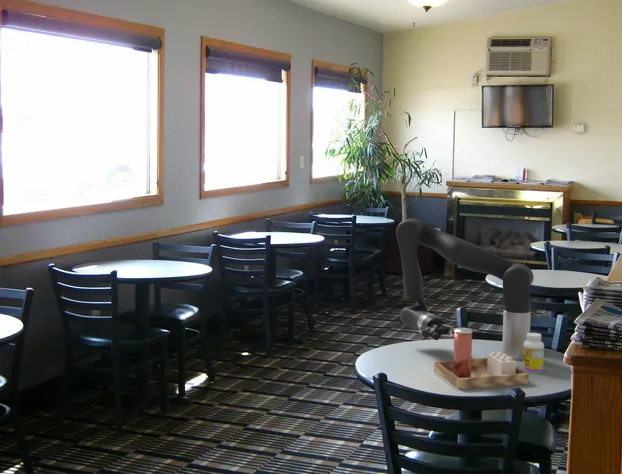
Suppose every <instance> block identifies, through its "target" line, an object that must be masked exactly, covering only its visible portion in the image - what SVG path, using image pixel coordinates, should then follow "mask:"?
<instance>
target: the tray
mask: <svg viewBox="0 0 622 474" xmlns="http://www.w3.org/2000/svg"><path fill="white" fill-rule="evenodd" d="M487 360H488V357H482V358H481V357H480V358H472V359H471V378H458V377H457V376H456V375H454V374H453V368H454V359H453V360H441V361H433V372H434V373H433V374H434V375H436V376H437V377H438V378H439V379H441V380H442V381H443V382H444V383H446V384H447V385H448V386H450V388H452V389H453V390H455V391H456V392H459V391H458V390H468V389H469V390H470V389H471V390H472V389H480V388H493V387H494V388H495V387H505V386H520V385H528V383H529V373H528V372H527V371H524V370H523V369H522V368H521V369H520V368H519V367H517V366H516V374H510V375H497V376H493V375H491V374H490V373H488V372H487Z"/></svg>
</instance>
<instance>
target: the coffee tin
mask: <svg viewBox="0 0 622 474" xmlns="http://www.w3.org/2000/svg"><path fill="white" fill-rule="evenodd" d="M473 332H474V331H473V329H472V328H469V327H462V328H455V329H454V336H453V338H454V339H453V360H454V368H453V374H454V375H456V376H457V377H458V378H471V359H473V358H472V355H473V352H472V350H473V349H472V348H473Z"/></svg>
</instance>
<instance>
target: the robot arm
mask: <svg viewBox="0 0 622 474" xmlns="http://www.w3.org/2000/svg"><path fill="white" fill-rule="evenodd" d="M395 234H396V239H397V243H398V249H399V255H400V260H401V267H402V278H403V279H402V280H403V294H404V295H403V296H404V299H405V300H407V301H411V302H416V303H417V304H416V305H410V306H405V307H403V308H402V309H401V311H400V315H399V316H400V317H399V318H400V320H401V322H402V324H403V325H404V326H406V327H408V328H411V329H412V328H413V329H418V330H419V335H420V336H421V337H422V338H424V339H427V338H429V339H433V340H434V341H439V339H440V338H441V337H451V338H452V337H454V329H455V328H463V327H461V326H459V325H458V324H453V325H448V324H446V322H445V321H444V319H442V318H440V317H439V316H437V315H435V314H433V313H430V311H429V309H428V306H427V303H426V299H425V295H424V286H423V285H424V283H423V275H422V271H421V267H420V264H419V260H418V245H421V246H424V247H427V248H430V249H432V250H433V251H435V252H437V253H438V254H439V255H440V256H442V257H443V258H444V259H446V260H447V261H448V262H450V263H452V264H453V265H456V266H459V267H460V268H464V269H465V270H469V271H472V272H477V273H482V274H487V275H491V276H493V277H494V278H498V279H499V280H501V281H502V304H503V315H502V316H503V317H502V324H503V325H502V347H501V348H502V349H501V351H502V352H503V354H507V355H508V356H510V357H512V360H514V361H515V360H516V361H519V360H520V361H523V344H524V342H525V341H527V333H532V332H531V313H532V312H531V311H532V310H531V309H532V305H531V301H530V295H531V294H530V292H531V287H530V286H531V285H532V284H533V282H534V273H533V271H532V270H531V268H530V267H529V266H528V265H526V264H523V263H520V262H516V261H513V260H510V259H507V258H504V257H501V256H499V255H497V254H495V253H493V252H491V251H489V250H487V249H485V248H482V247H480V246H478V245H476V244H475V243H472V242H470V241H468V240H464V239H463V238H460V237H457V236H454V235H452V234H449V233H446V232H444V231H441V230H439V229H436V228H435V227H433V226H432V225H429V224H427V223H426V222H423V221H422V220H420V219H417V218H413V217H412V218H411V217H410V218H408V219H405V220H402V221H401V222H399V224H398V225H397V227H396V230H395Z"/></svg>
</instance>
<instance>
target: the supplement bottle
mask: <svg viewBox="0 0 622 474" xmlns="http://www.w3.org/2000/svg"><path fill="white" fill-rule="evenodd" d="M541 340H542V334H541V333H538V332H531V333H527V341H525V342H524V344H523V360H522V371H524V372H527V373H542V372H544V353H545V351H544V350H545V344H544V342H543V341H541Z"/></svg>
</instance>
